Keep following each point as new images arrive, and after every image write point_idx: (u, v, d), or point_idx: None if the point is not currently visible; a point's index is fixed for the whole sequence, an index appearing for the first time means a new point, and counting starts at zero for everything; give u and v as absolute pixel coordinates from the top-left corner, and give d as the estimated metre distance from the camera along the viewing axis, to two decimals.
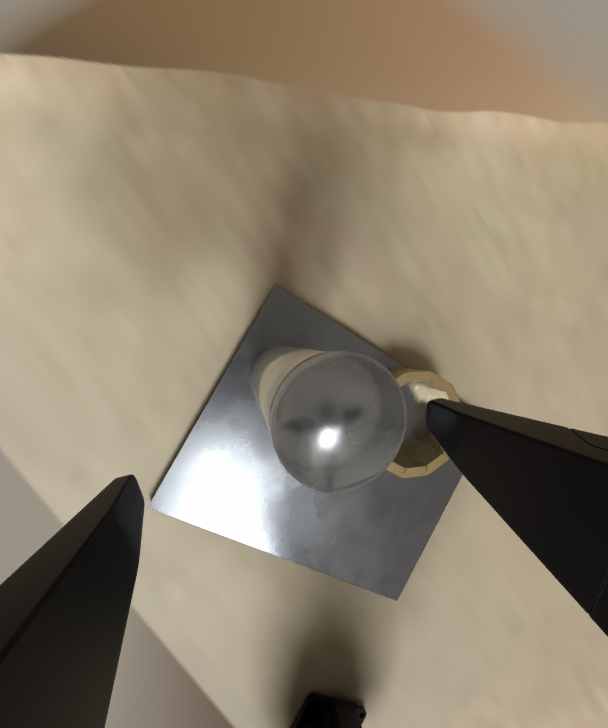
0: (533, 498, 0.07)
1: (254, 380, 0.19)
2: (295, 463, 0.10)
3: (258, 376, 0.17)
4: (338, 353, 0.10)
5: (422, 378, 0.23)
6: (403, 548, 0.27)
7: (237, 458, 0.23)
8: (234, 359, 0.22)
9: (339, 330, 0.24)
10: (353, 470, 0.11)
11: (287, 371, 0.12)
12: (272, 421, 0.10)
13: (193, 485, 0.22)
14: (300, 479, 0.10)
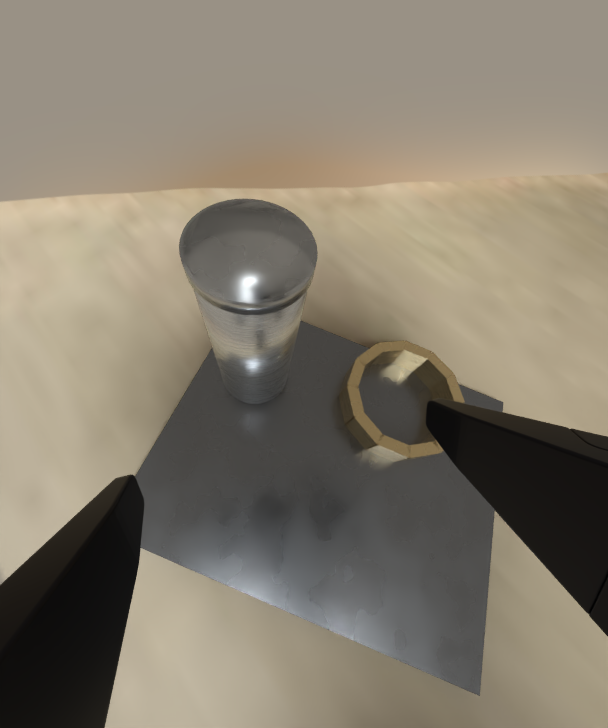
0: (533, 498, 0.07)
1: None
2: (203, 275, 0.11)
3: None
4: (240, 200, 0.12)
5: (396, 347, 0.23)
6: (457, 588, 0.19)
7: (211, 461, 0.20)
8: (206, 359, 0.23)
9: (307, 327, 0.25)
10: (267, 284, 0.11)
11: None
12: (180, 243, 0.11)
13: (159, 498, 0.19)
14: (209, 288, 0.10)
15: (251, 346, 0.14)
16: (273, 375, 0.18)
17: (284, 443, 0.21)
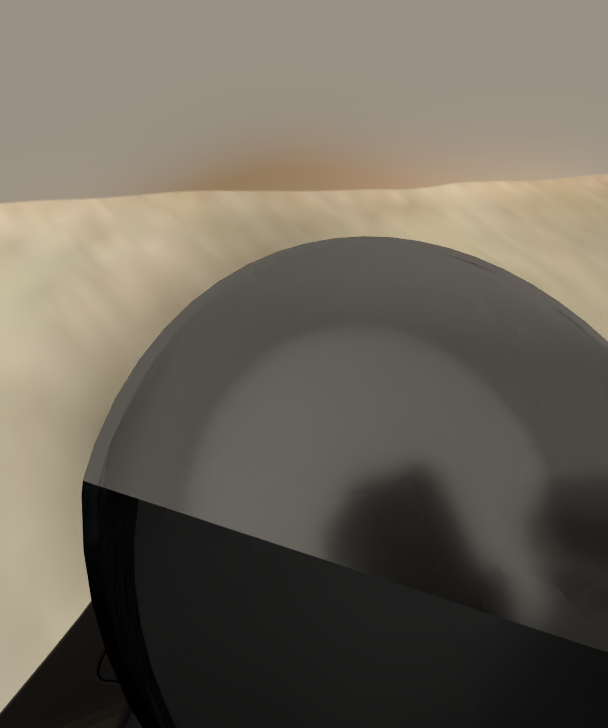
0: None
1: None
2: None
3: None
4: (346, 243, 0.03)
5: None
6: None
7: None
8: None
9: None
10: None
11: None
12: None
13: None
14: None
15: None
16: None
17: None
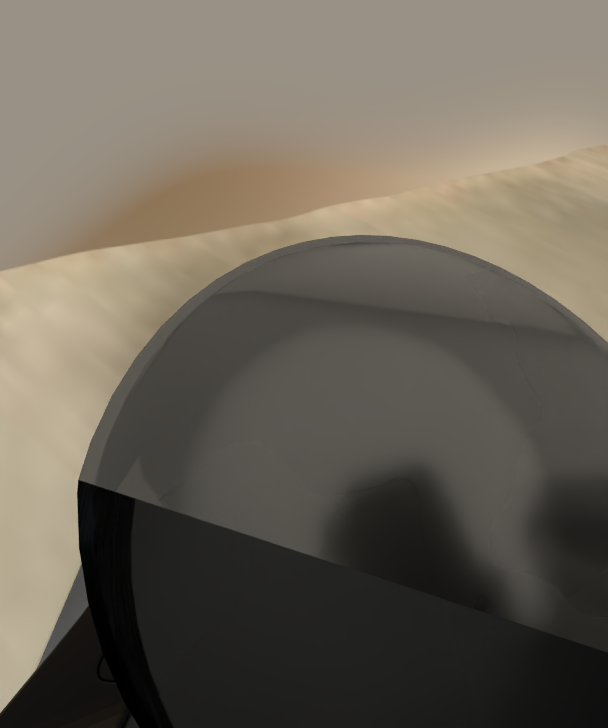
0: None
1: None
2: None
3: None
4: (343, 241, 0.03)
5: None
6: None
7: None
8: None
9: None
10: None
11: None
12: None
13: None
14: None
15: None
16: None
17: None
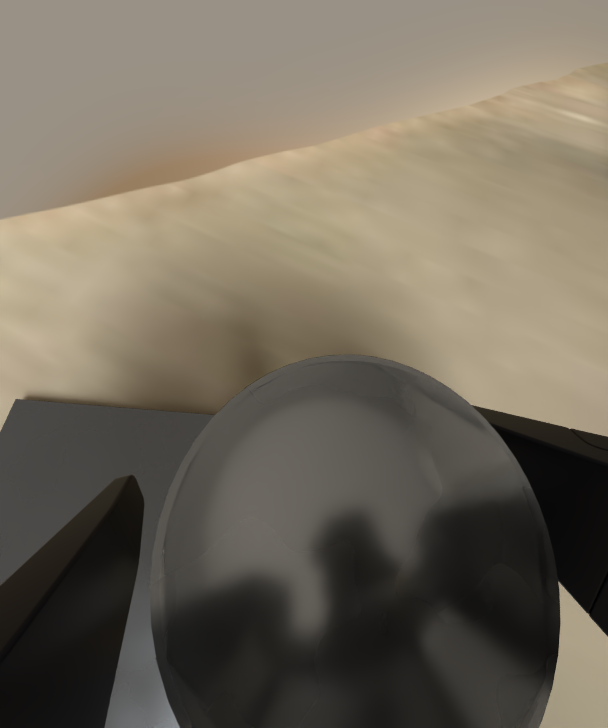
0: None
1: None
2: (234, 724, 0.03)
3: None
4: (318, 360, 0.05)
5: None
6: None
7: None
8: None
9: (134, 415, 0.16)
10: (444, 721, 0.03)
11: None
12: (154, 564, 0.03)
13: None
14: None
15: None
16: None
17: None
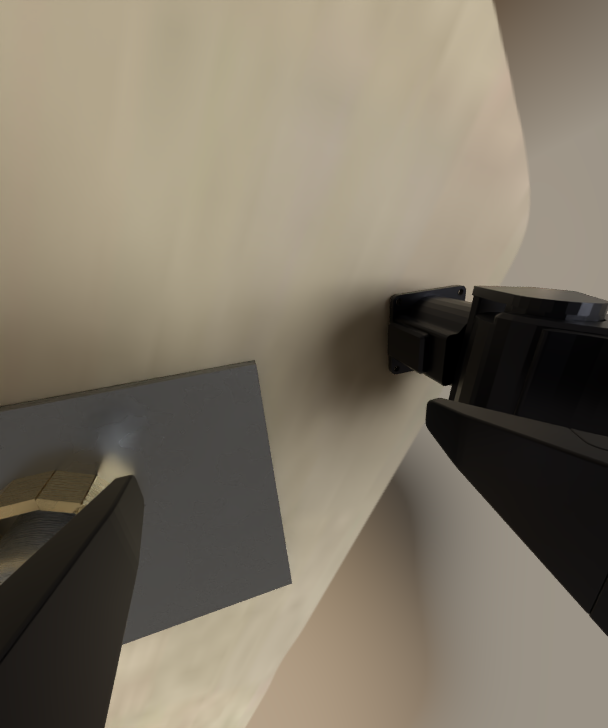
0: (533, 498, 0.07)
1: None
2: None
3: None
4: None
5: None
6: (193, 404, 0.20)
7: (224, 577, 0.27)
8: (159, 630, 0.27)
9: None
10: None
11: None
12: None
13: (262, 579, 0.28)
14: None
15: None
16: None
17: (178, 558, 0.25)
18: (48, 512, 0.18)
